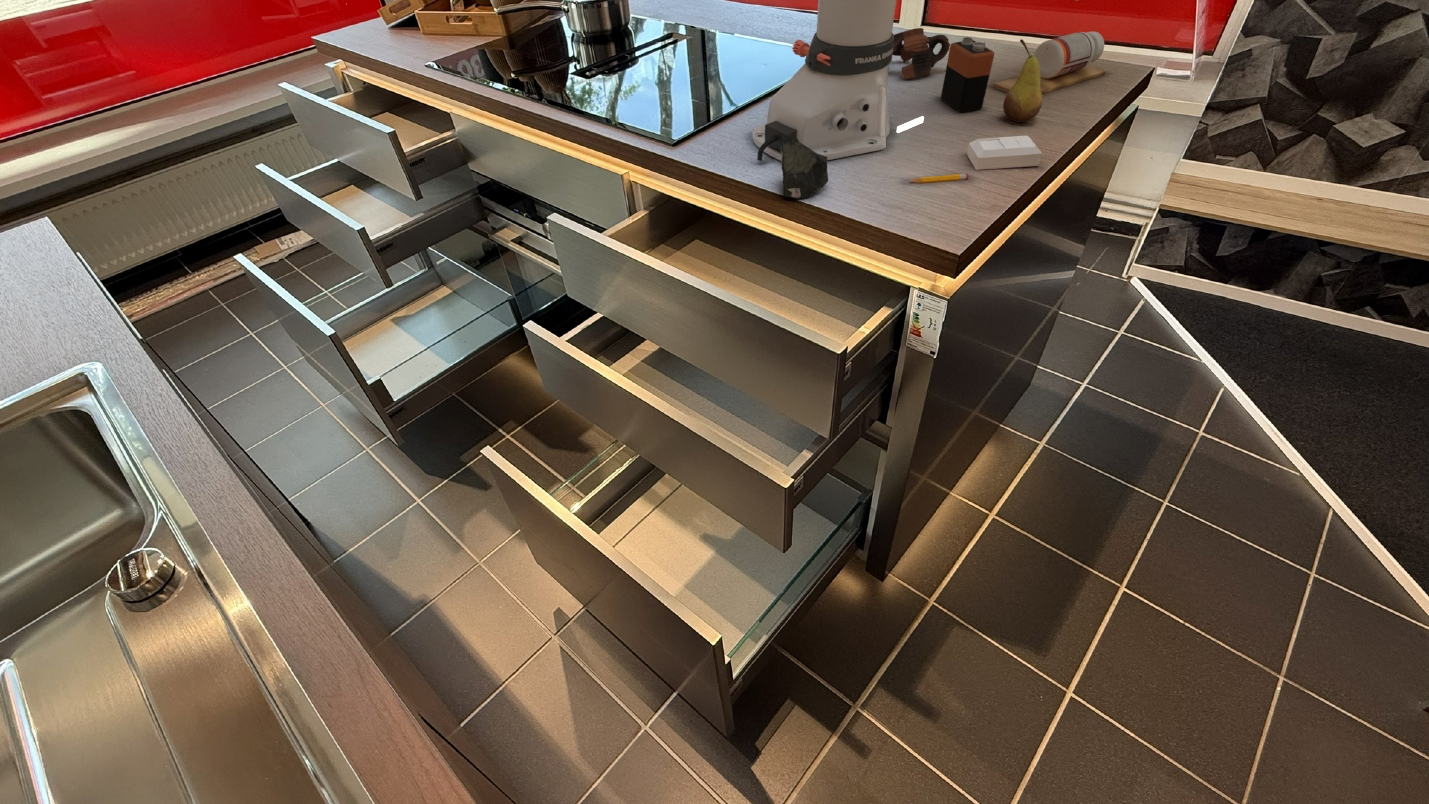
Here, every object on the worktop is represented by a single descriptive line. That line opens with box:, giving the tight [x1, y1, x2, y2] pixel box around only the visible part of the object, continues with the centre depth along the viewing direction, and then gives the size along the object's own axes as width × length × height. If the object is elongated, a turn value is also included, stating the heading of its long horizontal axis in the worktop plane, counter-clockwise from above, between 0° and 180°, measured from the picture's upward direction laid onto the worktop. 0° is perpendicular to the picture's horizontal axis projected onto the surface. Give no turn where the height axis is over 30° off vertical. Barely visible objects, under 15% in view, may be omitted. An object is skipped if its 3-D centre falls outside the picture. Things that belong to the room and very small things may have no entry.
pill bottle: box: [1033, 30, 1105, 78], centre depth 121 cm, size 6×6×11 cm
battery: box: [940, 36, 995, 113], centre depth 113 cm, size 4×7×10 cm, turn 16°
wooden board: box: [993, 64, 1107, 95], centre depth 122 cm, size 20×7×1 cm, turn 119°
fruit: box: [1003, 38, 1043, 123], centre depth 106 cm, size 6×6×12 cm
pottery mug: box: [892, 27, 951, 81], centre depth 127 cm, size 12×10×8 cm
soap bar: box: [966, 134, 1043, 171], centre depth 100 cm, size 5×9×3 cm, turn 90°
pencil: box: [908, 173, 969, 184], centre depth 97 cm, size 1×8×1 cm
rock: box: [781, 135, 829, 200], centre depth 97 cm, size 9×7×5 cm
